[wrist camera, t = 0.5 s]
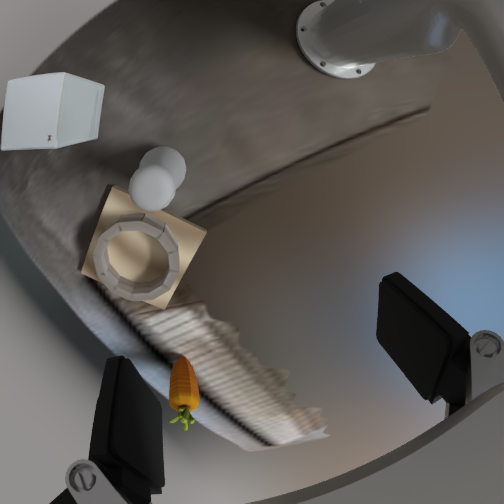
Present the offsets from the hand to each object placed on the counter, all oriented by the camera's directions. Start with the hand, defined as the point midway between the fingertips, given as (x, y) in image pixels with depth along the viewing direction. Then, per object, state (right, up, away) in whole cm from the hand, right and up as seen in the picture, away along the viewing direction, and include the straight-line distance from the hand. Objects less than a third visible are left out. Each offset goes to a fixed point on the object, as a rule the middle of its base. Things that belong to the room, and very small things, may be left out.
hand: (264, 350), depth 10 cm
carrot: (-13, -15, +39) cm, 44 cm away
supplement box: (-23, +21, +19) cm, 37 cm away
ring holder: (-16, +4, +29) cm, 34 cm away
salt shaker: (-12, +14, +25) cm, 31 cm away
